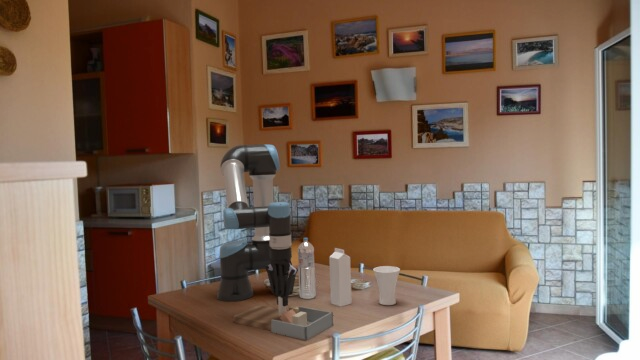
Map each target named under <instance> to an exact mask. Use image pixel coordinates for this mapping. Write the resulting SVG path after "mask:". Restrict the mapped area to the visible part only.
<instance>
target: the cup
mask: <svg viewBox="0 0 640 360" xmlns="http://www.w3.org/2000/svg"><path fill="white" fill-rule="evenodd" d="M400 271H401V268H399V267H397V266H393V265H392V266H391V265H383V266H381V265H380V266H377V267H374V268H373V272H374V275H375V279H376V281H377V285H378V286H377V287H378V291H379V292H378V293H379V300H378V301H379V302H378V303H379V304H380V305H383V306H393V305H396V303H397V300H396V288H397V282H398V279H399V275H400Z"/></svg>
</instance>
